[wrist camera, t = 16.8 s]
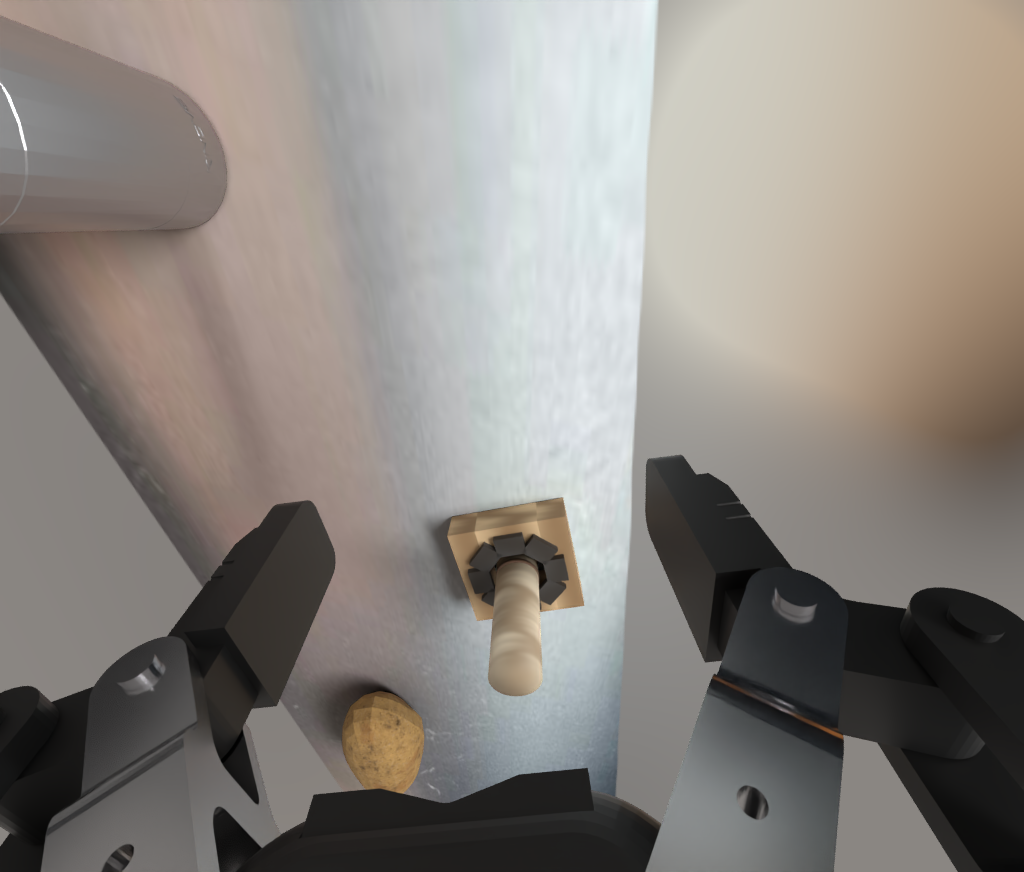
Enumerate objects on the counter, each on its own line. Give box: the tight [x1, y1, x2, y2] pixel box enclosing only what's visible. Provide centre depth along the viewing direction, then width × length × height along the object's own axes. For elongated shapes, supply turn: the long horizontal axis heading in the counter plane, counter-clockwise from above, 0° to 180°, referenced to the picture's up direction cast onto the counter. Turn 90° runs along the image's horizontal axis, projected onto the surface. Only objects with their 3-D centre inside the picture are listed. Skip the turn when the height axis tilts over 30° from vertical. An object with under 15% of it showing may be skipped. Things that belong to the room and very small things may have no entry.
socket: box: [447, 498, 584, 621], centre depth 44 cm, size 11×11×4 cm
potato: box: [342, 691, 424, 794], centre depth 53 cm, size 10×14×8 cm
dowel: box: [488, 554, 542, 696], centre depth 39 cm, size 4×4×14 cm
